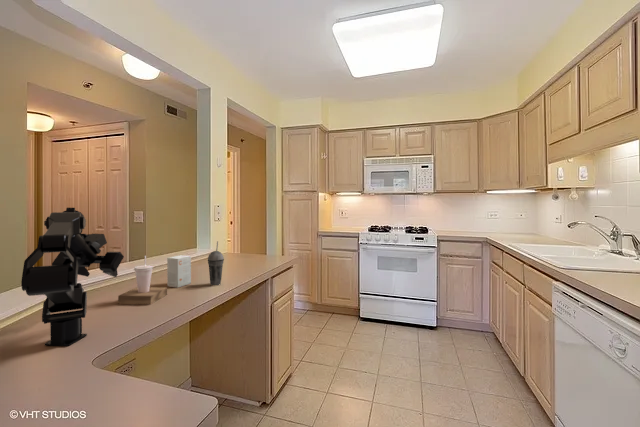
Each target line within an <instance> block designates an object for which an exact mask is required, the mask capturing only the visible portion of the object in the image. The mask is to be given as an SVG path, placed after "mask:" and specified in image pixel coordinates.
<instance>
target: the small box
mask: <svg viewBox="0 0 640 427" xmlns="http://www.w3.org/2000/svg"><path fill="white" fill-rule="evenodd" d="M166 262H167V263H166V265H167V270H166V272H167V273H166V277H167V282H166V284H167V285H166V286H167V287H171V288H180V287H184V286H187V285H190V284H192V256H191V255H183V254H182V255H180V254H179V255H175V256H170V257H167V260H166Z"/></svg>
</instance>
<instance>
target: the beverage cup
mask: <svg viewBox="0 0 640 427" xmlns="http://www.w3.org/2000/svg"><path fill="white" fill-rule="evenodd" d="M218 247H219V241H216V249H215V250H214V251H211V252H210V253H209V254H208V257H207V264H208V271H209V274H208V275H209V282H210V284H211V285H210V286H212V285H217V286H220V285H221V284H222V276H223V264H224V260H225V258H224V255H223V252H220V251H218V250H219V249H218ZM219 284H220V285H219Z"/></svg>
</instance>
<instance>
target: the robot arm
mask: <svg viewBox="0 0 640 427" xmlns="http://www.w3.org/2000/svg"><path fill="white" fill-rule="evenodd" d="M86 222H87V219H86V217H85V216H84V214H83V212H80V211H79V210H76V208H75V207H66V210H64V211H63V210H62V212H61V211H60V212H59V211H58V212H57V211H56V212H54V211H53V212H51V213H50V214H49V215H48V216H46V218H45V220H44V221H43V224H44V227H45V228H46V230H47V231H45V233H44V234H43V235H39V237H38V240H37V247H36V248H35V249H34V250H33V251H32V252H31V253H30V254H29V255H28V256H27V257H26V258H25V259H24V261H23V268H22V275H21V280H20V281H21V290H22V291H23V292H25V294H26V295H27V296H29V297H32V296H33V297H34V296H45V297H46V298H45V300H44V301H43V303H42V304H43V305H42V313H41V322H42V323H44V325H45V324H49V325H50V328H49V329H50V339H49V341H46V342H45V343H44V346H46V347H47V346H51V347H52V346H55V347H58V346H59V347H61V346H62V347H63V346H64V347H68V346H71V345H73V344H74V343H76V342H78V341H79V340H82V339H83V338H85V337H87V336H88V333H83V320H82V319H84V318H86V315H87V306H88V305H87V303H88V300H87V298H88V293H87V291H85V290H84V289H85V288H83V284H82V283H80V282H78V276H82V277H89V276H90V272H89V270H88V269H87V268H90V266H91V265H92V264H98V266H99V270H100V271H101V272H102V273H104V274H106V275H108V276H111V277H114V278H117V277H118V274H119V273H118V268H119V267H120V265H121V262H122V261H123V259H124V258H125V257H124V255H123V253H122V252H121V251H107V252H106V253H105V255H100V253H101V251H102V250H101V248H102V247H103V246H105V245H107V244H108V242H107V239H106V236H105V234H104V233H88V234H87V233H83V230H85V227H86V225H87V223H86ZM45 253H46V254H47V253H48V254H49V253H58V255H57V256H56V257H55V258H54V260H53V261H52V263H51V265H41V266H35V265H36V263H38V261H39V260H40V259H42V257H43V256H44V255H45Z"/></svg>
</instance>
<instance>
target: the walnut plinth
mask: <svg viewBox="0 0 640 427" xmlns="http://www.w3.org/2000/svg"><path fill="white" fill-rule="evenodd" d="M167 295H168V286H167V287H166V286H165V287H164V286H161V287H158V286H157V287H156V286H150V288H149V292H145V293H138V288H137V286H136V287H134V288H132V289H130V290H128V291H126V292H123V293H121V294H119V295H118V296H117V297H118V299H117V303H118V304H119V305H153V304H154V303H156V302H157V301H160V300H161V299H162V298H164V297H166V296H167Z"/></svg>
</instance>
